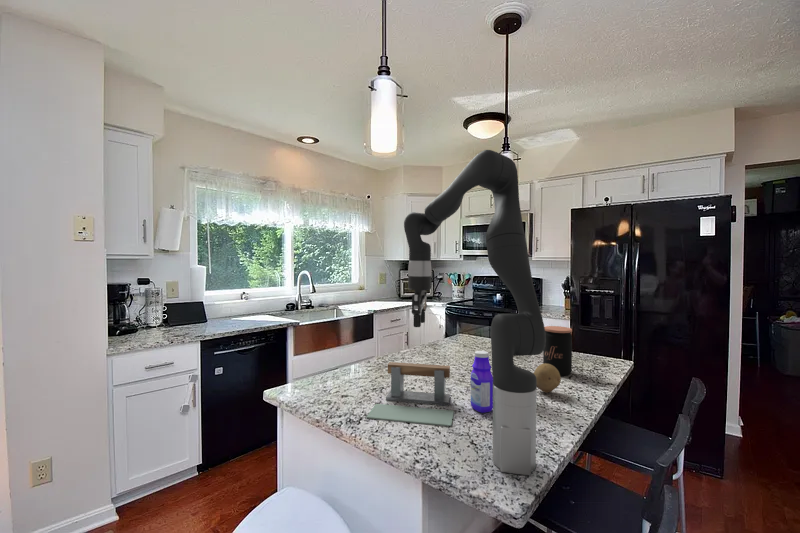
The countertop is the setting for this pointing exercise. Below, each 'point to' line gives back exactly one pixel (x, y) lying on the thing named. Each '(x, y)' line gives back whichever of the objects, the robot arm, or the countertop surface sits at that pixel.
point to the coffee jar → (558, 349)
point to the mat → (411, 414)
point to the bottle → (481, 383)
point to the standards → (418, 397)
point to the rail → (419, 369)
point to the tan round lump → (547, 377)
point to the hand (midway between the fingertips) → (419, 324)
